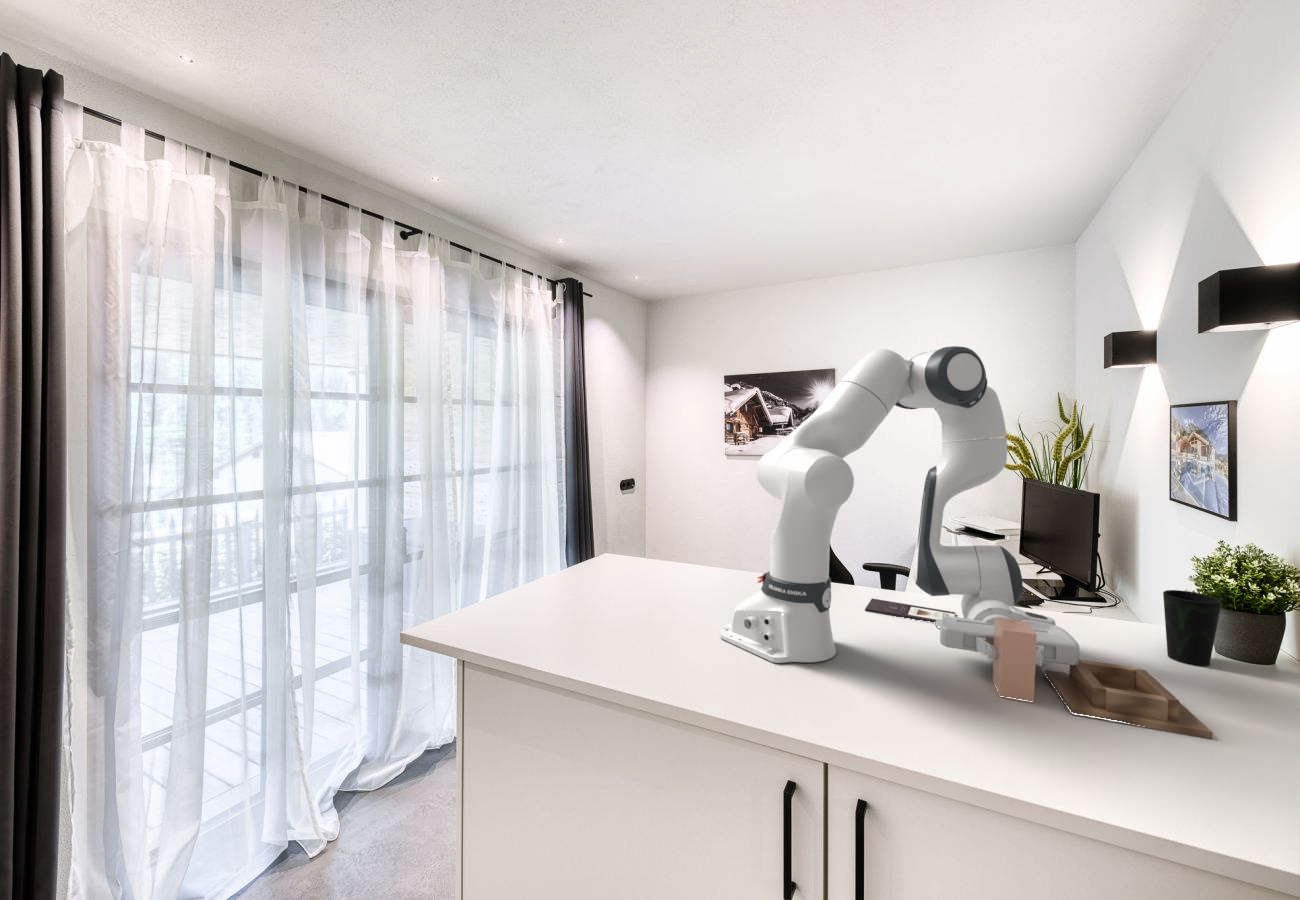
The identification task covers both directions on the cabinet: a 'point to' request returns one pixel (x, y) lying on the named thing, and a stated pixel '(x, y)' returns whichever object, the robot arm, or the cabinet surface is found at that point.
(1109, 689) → the wooden tray with base
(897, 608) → the chocolate bar
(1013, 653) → the peach rectangular block
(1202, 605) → the cup
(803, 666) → the cabinet surface
